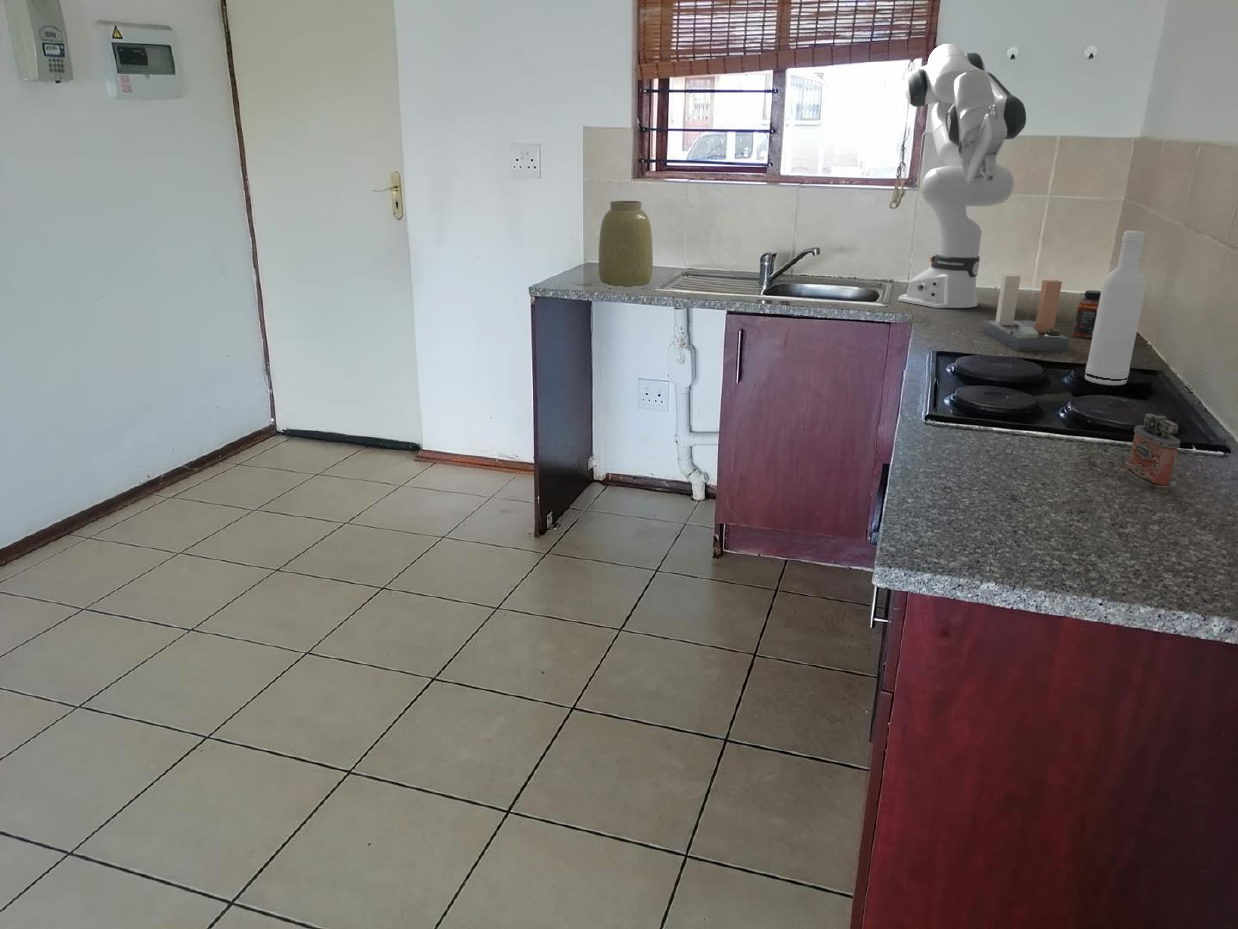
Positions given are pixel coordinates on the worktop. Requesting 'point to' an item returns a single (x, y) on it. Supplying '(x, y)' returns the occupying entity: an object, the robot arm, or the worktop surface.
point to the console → (1018, 342)
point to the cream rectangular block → (1007, 299)
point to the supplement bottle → (1087, 314)
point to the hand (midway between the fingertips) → (990, 178)
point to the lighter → (1153, 453)
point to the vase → (625, 246)
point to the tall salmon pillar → (1048, 305)
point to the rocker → (1028, 332)
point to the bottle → (1118, 315)
